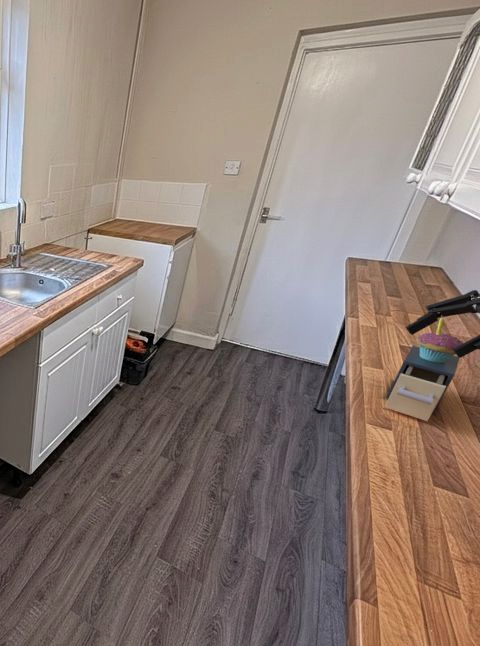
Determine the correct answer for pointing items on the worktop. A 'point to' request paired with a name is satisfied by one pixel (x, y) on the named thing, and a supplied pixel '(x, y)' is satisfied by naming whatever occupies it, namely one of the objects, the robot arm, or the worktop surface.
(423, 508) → the worktop surface
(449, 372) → the cabinet
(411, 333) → the robot arm
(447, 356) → the cupcake
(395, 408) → the drawer
